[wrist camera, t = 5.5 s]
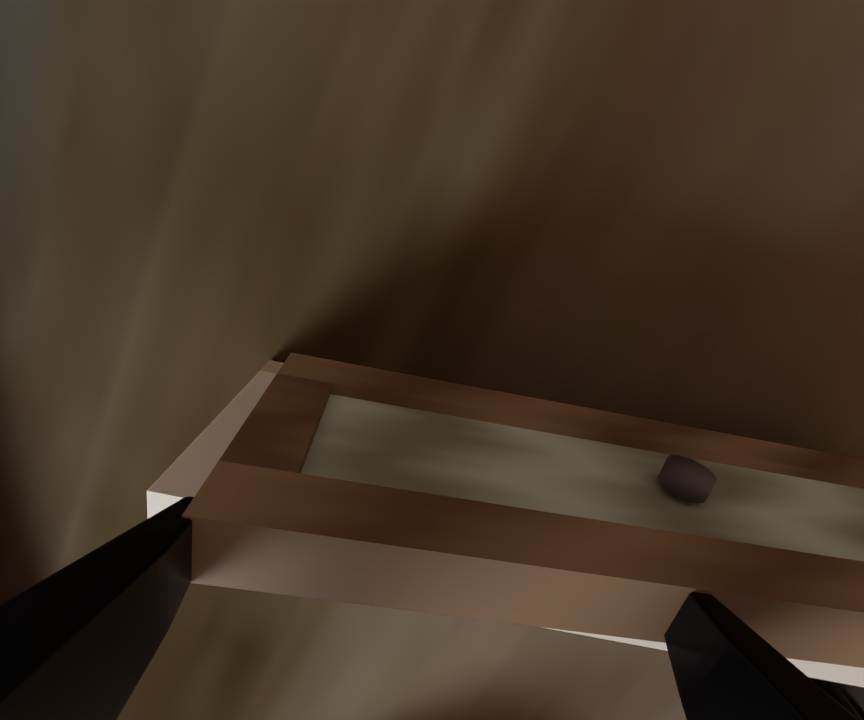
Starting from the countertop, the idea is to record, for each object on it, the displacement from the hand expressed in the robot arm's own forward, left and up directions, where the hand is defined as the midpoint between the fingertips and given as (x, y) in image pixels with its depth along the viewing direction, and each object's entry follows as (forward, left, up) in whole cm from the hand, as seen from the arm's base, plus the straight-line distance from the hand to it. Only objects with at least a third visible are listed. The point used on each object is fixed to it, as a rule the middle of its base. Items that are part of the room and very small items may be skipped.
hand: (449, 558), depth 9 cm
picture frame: (-6, 0, -3) cm, 7 cm away
